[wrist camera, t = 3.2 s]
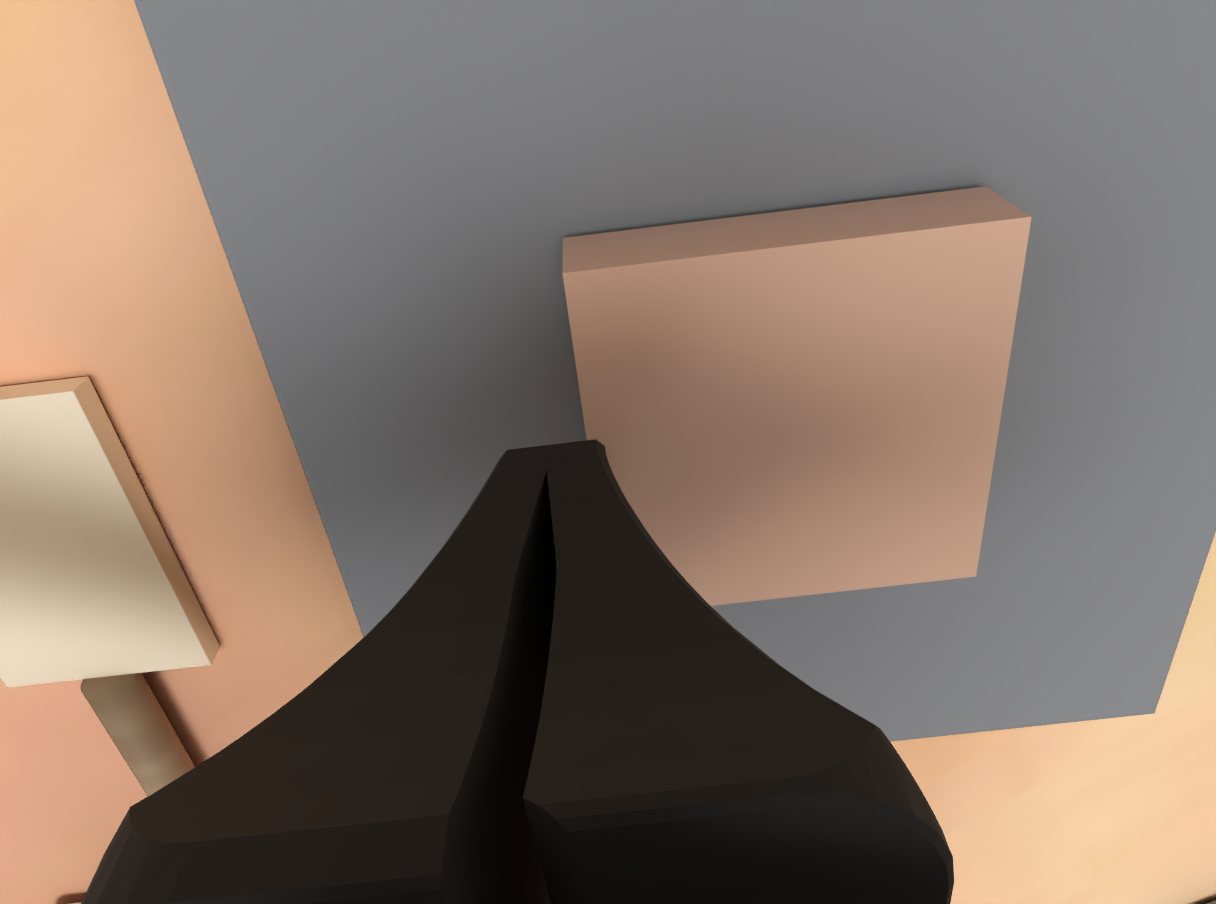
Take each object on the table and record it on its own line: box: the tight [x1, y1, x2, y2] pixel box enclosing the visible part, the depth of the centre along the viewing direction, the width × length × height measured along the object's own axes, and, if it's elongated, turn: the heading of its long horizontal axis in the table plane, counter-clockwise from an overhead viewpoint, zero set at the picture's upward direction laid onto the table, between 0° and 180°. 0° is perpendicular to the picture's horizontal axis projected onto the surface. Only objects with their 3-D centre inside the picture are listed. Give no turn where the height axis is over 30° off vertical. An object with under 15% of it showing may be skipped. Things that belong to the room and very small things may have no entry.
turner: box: [0, 376, 220, 796], centre depth 17 cm, size 13×4×1 cm, turn 6°
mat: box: [134, 0, 1216, 741], centre depth 14 cm, size 18×16×1 cm
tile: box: [562, 186, 1032, 606], centre depth 13 cm, size 6×2×6 cm
